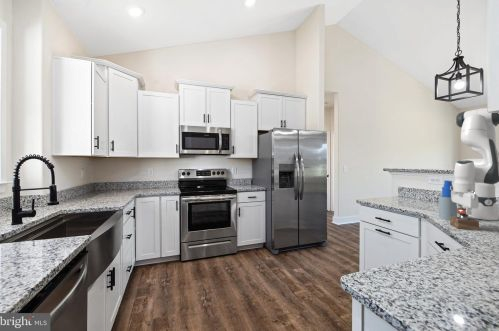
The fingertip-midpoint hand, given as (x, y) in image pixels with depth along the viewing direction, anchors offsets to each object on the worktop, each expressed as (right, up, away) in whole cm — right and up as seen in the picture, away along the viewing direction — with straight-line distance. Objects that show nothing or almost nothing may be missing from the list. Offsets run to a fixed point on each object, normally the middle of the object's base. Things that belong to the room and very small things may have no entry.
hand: (464, 213), depth 129 cm
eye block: (0, -8, 0) cm, 8 cm away
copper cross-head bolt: (0, -8, 0) cm, 8 cm away
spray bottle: (+7, -8, +19) cm, 22 cm away
